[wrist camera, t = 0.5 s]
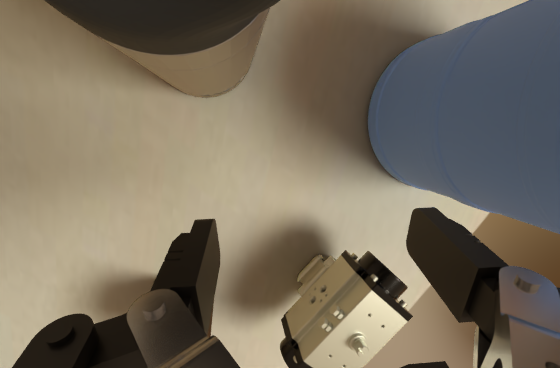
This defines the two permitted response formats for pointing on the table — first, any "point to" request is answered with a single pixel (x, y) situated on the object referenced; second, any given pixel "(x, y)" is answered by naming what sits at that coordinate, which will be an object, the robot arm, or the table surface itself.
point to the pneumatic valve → (342, 313)
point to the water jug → (478, 114)
